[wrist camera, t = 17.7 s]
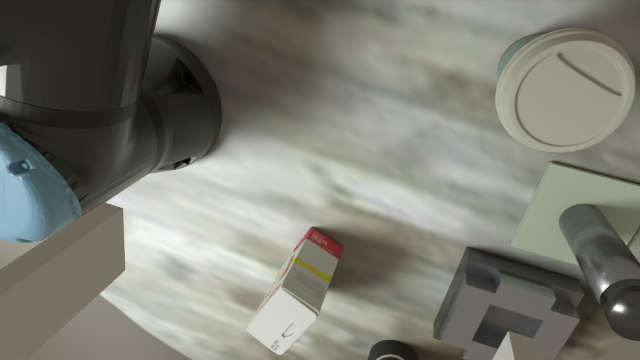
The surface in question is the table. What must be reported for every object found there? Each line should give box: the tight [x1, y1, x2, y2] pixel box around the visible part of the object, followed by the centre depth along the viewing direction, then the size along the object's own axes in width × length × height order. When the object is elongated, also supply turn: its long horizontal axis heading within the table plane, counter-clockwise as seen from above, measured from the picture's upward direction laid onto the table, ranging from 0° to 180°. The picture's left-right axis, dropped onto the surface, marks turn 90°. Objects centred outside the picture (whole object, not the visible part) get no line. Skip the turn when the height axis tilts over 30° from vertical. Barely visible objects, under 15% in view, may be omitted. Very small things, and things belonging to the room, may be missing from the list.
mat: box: [510, 161, 640, 266], centre depth 42 cm, size 10×10×1 cm
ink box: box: [246, 227, 343, 355], centre depth 48 cm, size 9×5×12 cm, turn 148°
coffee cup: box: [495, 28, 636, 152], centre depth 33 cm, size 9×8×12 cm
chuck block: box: [434, 247, 585, 360], centre depth 47 cm, size 12×12×4 cm
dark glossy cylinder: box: [559, 204, 640, 341], centre depth 36 cm, size 4×4×14 cm
